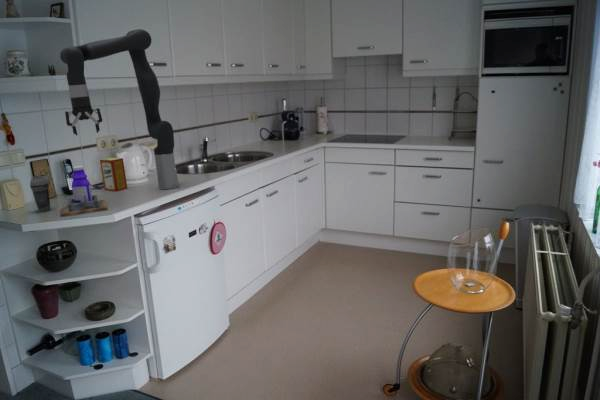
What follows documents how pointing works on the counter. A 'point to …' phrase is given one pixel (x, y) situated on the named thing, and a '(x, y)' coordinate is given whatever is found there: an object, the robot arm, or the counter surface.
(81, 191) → the bottle
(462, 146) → the counter surface
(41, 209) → the beverage cup
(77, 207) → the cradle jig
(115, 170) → the baking soda box
